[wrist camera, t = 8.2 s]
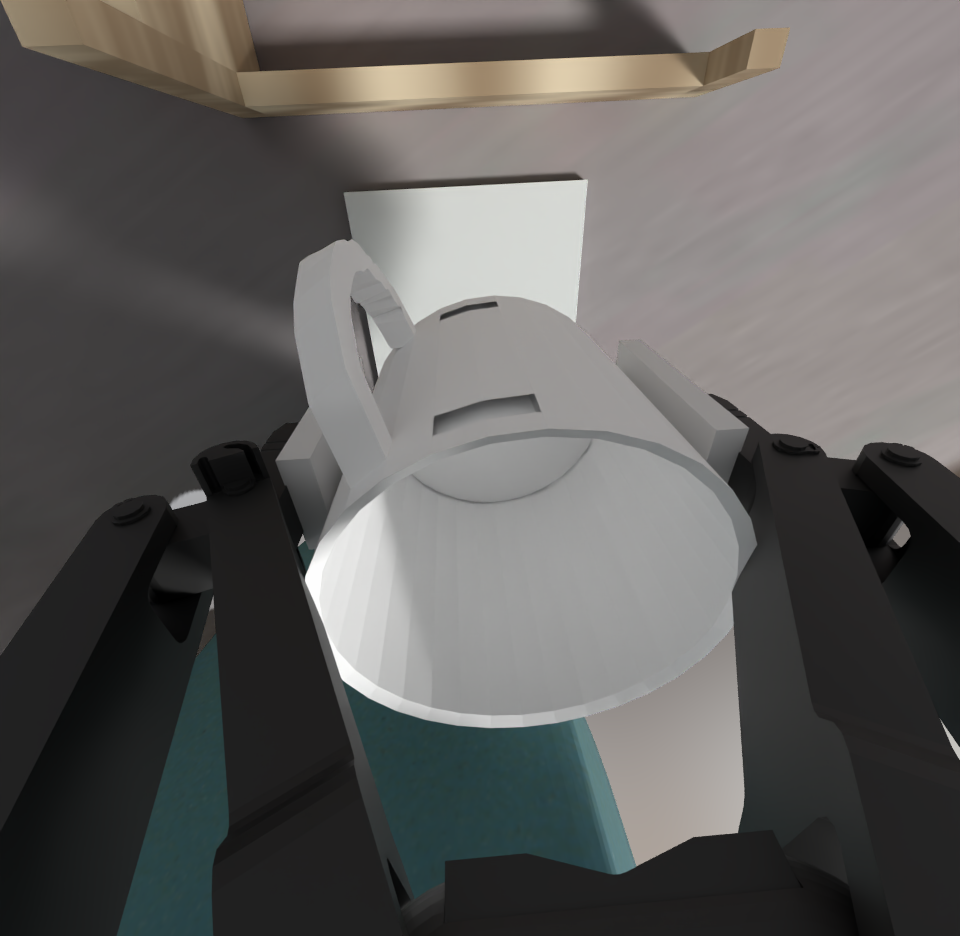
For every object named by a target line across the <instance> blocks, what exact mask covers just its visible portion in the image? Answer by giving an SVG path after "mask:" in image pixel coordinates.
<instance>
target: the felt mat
mask: <svg viewBox="0 0 960 936" xmlns="http://www.w3.org/2000/svg"><path fill="white" fill-rule="evenodd" d="M587 182H588V180H571V181H552V182H533V183H514V184H495V185H475V186H456V187H437V188H418V189H399V190H380V191H361V192H344V198H345V203H346V208H347V213H348V219H349V224H350V229H351V235H352V240H354V241H355V242H357V243H358V244H359V245H360V246H361V248H362V249H363V251H364V252H365V253H366V255H368V256H370V257H371V259H372V261H373V263H374V264H375V263H376V265H377V266H378V267H379V269H380V270H381V271H382V273H383V274H384V276H385V277H386V278H387V280H388V281H389V283H390V284H391V285H392V286H393V288H394V289H395V291H396V293H397V294H398V296H399V298H400V300H401V302H402V304H403V306H404V307H405V309H406V311H407V313H408V315H409V317H410V319H411V320H412V322H413V324H414V325H415V324H416V323H417V322H419V321H421V320H422V319H424V318H426V317H427V316H429V315H430V314H432V313H434V312H435V311H437V310H439V309H440V308H443V307H446V306H448V305H451V304H454V303H457V302H460V301H463V300H465V299H471V298H478V297H485V296H493V295H496V296H510V297H522V298H525V299H528V300H532V301H535V302H539V303H542V304H545V305H548V306H550V307H551V308H553V309H555V310H557V311H559V312H560V313H562V314H564V315H566V316H568V317H569V318H570V319H571V320H573V321H574V322H575V323H576V313H577V301H578V289H579V277H580V265H581V253H582V241H583V229H584V218H585V206H586V194H587ZM366 314H367V319H368V324H369V330H370V335H371V340H372V345H373V351H374V356H375V361H376V366H377V372H378V377H379V374H380V372H381V369H382V367H383V364H384V362H385V360H386V358H387V357H388V355H389V354H390V352H391V351H392V349H393V348H392V349H390V347H389V345H388V344H387V342H386V340H385V338H384V337H383V335H382V333H381V332H380V330H379V328H378V327H377V325H376V323H375V322H374V320H373V319H372V317H371V316H370V315H369V314H368V313H367V312H366Z"/></svg>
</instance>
